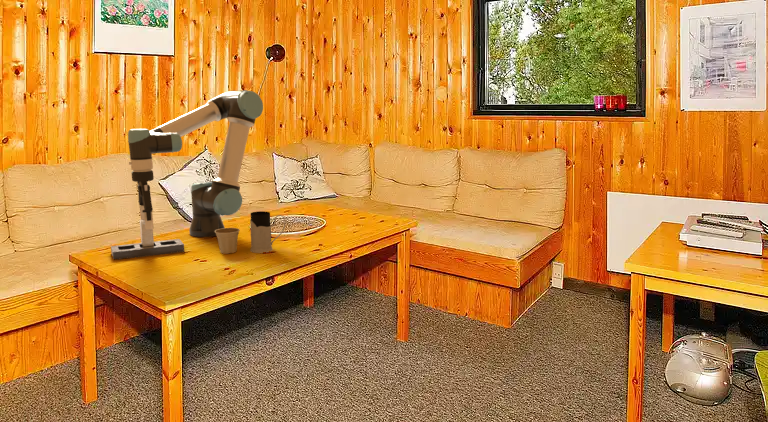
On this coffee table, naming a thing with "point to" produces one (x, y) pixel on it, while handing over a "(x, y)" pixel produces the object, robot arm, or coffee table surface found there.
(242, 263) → the coffee table surface
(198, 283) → the coffee table surface
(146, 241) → the beige tall block
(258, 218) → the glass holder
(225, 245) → the flower pot
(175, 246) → the dark grey ladder frame
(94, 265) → the coffee table surface
